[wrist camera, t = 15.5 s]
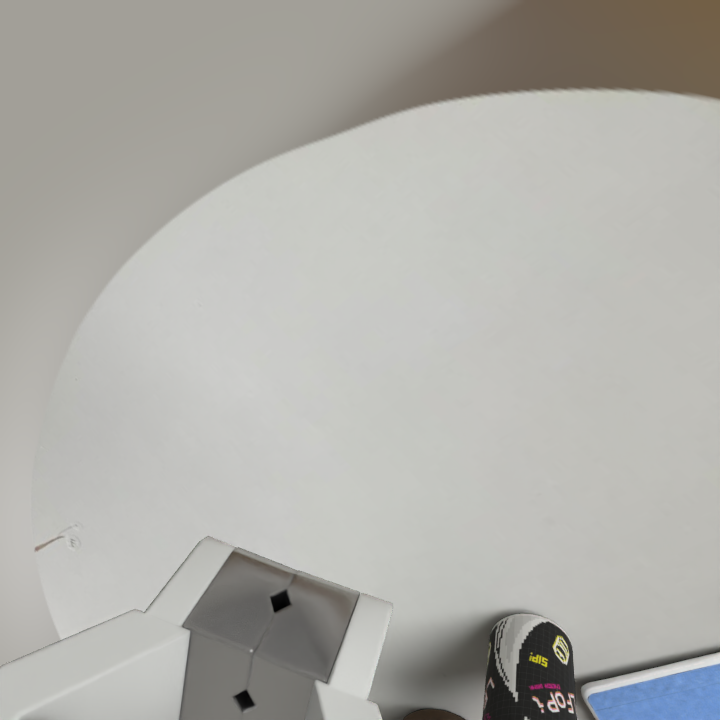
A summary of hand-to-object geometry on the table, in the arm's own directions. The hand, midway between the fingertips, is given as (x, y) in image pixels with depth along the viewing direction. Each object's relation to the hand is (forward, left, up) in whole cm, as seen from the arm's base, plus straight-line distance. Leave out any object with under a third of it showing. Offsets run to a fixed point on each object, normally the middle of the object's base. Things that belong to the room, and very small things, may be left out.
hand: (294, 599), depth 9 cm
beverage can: (+27, +12, -29) cm, 42 cm away
